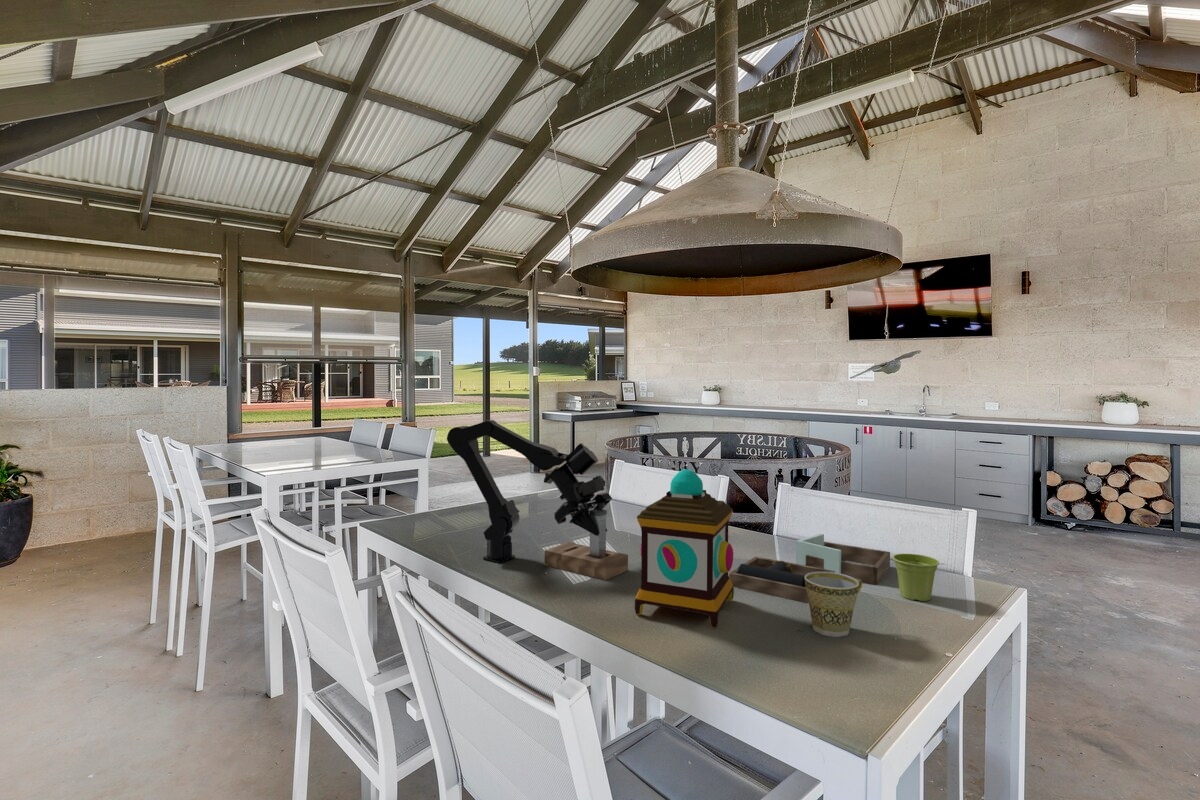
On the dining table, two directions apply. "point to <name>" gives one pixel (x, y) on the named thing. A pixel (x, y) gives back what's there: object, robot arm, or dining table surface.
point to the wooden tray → (773, 586)
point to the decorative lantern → (686, 550)
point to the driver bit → (599, 541)
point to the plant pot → (915, 575)
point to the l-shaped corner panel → (818, 552)
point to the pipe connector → (774, 573)
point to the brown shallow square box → (860, 556)
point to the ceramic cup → (831, 601)
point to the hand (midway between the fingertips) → (602, 533)
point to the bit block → (586, 561)
